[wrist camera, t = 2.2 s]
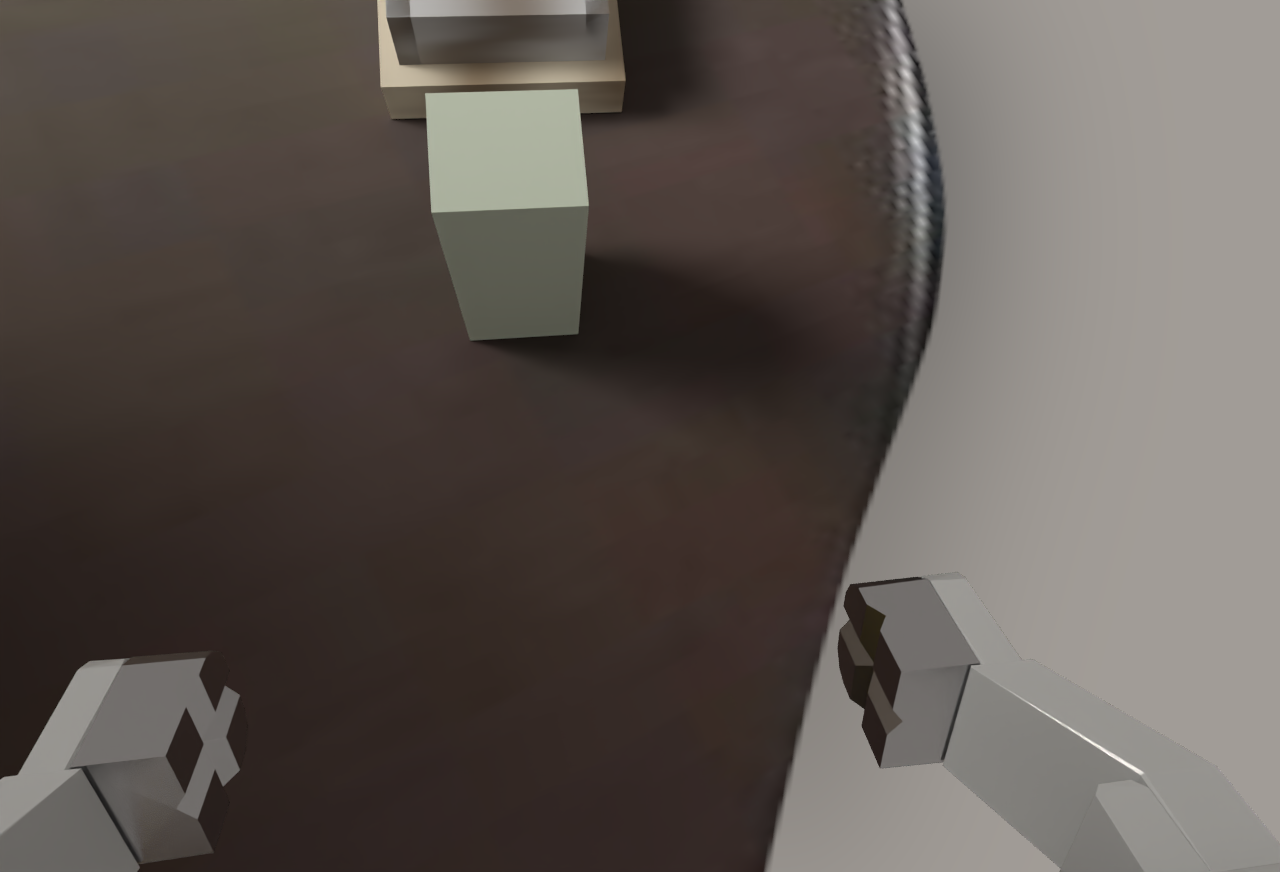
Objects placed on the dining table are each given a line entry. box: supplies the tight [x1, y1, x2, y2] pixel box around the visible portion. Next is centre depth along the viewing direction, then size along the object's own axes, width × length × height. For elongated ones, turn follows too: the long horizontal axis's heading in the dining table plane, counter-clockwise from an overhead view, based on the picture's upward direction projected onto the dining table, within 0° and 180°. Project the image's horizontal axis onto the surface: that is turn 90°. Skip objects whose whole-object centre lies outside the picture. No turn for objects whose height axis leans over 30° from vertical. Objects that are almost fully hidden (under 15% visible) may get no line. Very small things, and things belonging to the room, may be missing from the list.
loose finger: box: [425, 89, 589, 341], centre depth 27 cm, size 4×4×10 cm
